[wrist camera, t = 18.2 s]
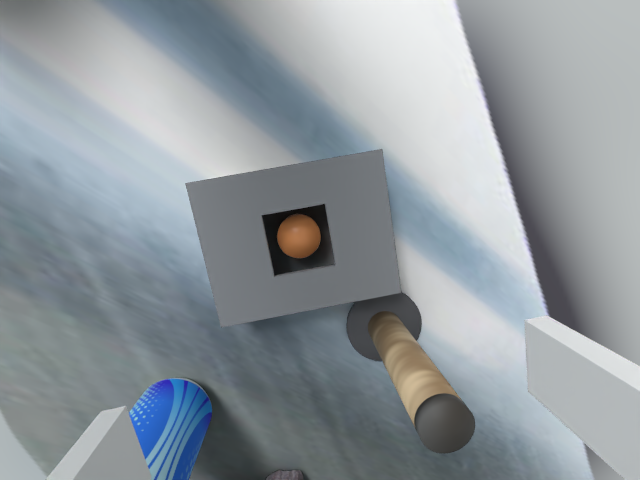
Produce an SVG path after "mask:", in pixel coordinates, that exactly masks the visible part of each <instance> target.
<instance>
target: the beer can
mask: <svg viewBox="0 0 640 480" xmlns="http://www.w3.org/2000/svg"><path fill="white" fill-rule="evenodd" d="M129 416H130V418H131V421H132V424H133V427H134V429H135V432H136V435H137V438H138V441H139V443H140V446H141V449H142V452H143V454H144V457H145V460H146V463H147V466H148V468H149V471H150V474H151V479H150V480H189V478H190V475H191V472H192V470H193V467H194V464H195V462H196V459H197V456H198V453H199V451H200V448H201V445H202V442H203V440H204V437H205V434H206V432H207V429H208V426H209V423H210V421H211V417H212V405H211V402H210V399H209V397H208V395H207V394H206V392H205V391H204V389H203V388H202V387H201V386H200V385H199V384H197V383H196V382H194V381H192V380H189V379H186V378H171V379H165V380H161V381H158V382H156V383H154V384H153V385H151V386H150V387H149V388H148V389H147V390H146V391H145V392H144V393H143V394H142V396H141V397H140V398H139V400H138V401H137V403H136V404H135V405H134V407H133V408H132V409H131V411H130V412H129Z"/></svg>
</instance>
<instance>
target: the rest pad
mask: <svg viewBox="0 0 640 480" xmlns="http://www.w3.org/2000/svg"><path fill="white" fill-rule="evenodd" d="M382 311H389V312H392V313H394V314H395V315H396V316H397V317H398V318H399V319H400V320H401V322H402V323H403V324H404V326H405V327H406V328H407V330H408V331H409V332H410V333H411V335H412V336H413V337H414V339H415V340H416V341H417V339H418V337H419V334H420V331H421V316H420V312H419V310H418V308H417V306H416V305H415V303H414V302H413V301H412V300H411V299H410V298H409V297H408V296H407V295H405V294H404V293H402V292H401V293H397V294H392V295H387V296H382V297H377V298H371V299H366V300H361V301H356V303H355V304H354V305H353V307H352V308H351V310H350V312H349V315H348V318H347V333H348V337H349V339H350V342H351V344H352V345H353V347H354V348H355V349H356V350H357V351H358V352H359V353H360V354H361V355H363V356H364V357H366V358H369V359H372V360H377V361H382V359H381V357H380V355H379V353H378V351H377V349H376V347H375V345H374V343H373V341H372V339H371V337H370V335H369V332H368V323H369V321H370V319H371V318H372V317H373V316H374V315H375V314H376V313H378V312H382Z"/></svg>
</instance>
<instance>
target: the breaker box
mask: <svg viewBox="0 0 640 480" xmlns="http://www.w3.org/2000/svg"><path fill="white" fill-rule="evenodd" d="M185 184H186V188H187V192H188V196H189V200H190V204H191V208H192V212H193V216H194V220H195V224H196V228H197V232H198V236H199V240H200V244H201V248H202V252H203V256H204V261H205V265H206V269H207V273H208V277H209V281H210V285H211V289H212V293H213V297H214V301H215V305H216V309H217V313H218V317H219V321H220V325H221V328H222V327H227V326H232V325H237V324H242V323H248V322H253V321H258V320H263V319H268V318H273V317H279V316H284V315H289V314H294V313H299V312H304V311H310V310H315V309H320V308H325V307H330V306H335V305H340V304H346V303H351V302H356V301H361V300H366V299H371V298H377V297H382V296H387V295H392V294H397V293H401V287H400V279H399V272H398V264H397V257H396V249H395V242H394V234H393V226H392V219H391V211H390V204H389V196H388V189H387V181H386V174H385V166H384V159H383V151H382V149H380V150H374V151H368V152H362V153H357V154H351V155H345V156H339V157H334V158H328V159H322V160H316V161H311V162H305V163H299V164H293V165H288V166H282V167H276V168H270V169H265V170H259V171H253V172H247V173H242V174H236V175H230V176H224V177H219V178H213V179H207V180H201V181H196V182H190V183H185ZM322 204H325V209H326V215H327V221H328V226H329V232H330V238H331V244H332V250H333V256H334V262H335V264H332V265H327V266H321V267H316V268H311V269H305V270H300V271H295V272H290V273H284V274H279V275H274V270H273V266H272V261H271V256H270V251H269V246H268V242H267V237H266V232H265V227H264V222H263V217H262V215H266V214H272V213H277V212H283V211H289V210H294V209H300V208H305V207H311V206H316V205H322Z"/></svg>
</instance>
